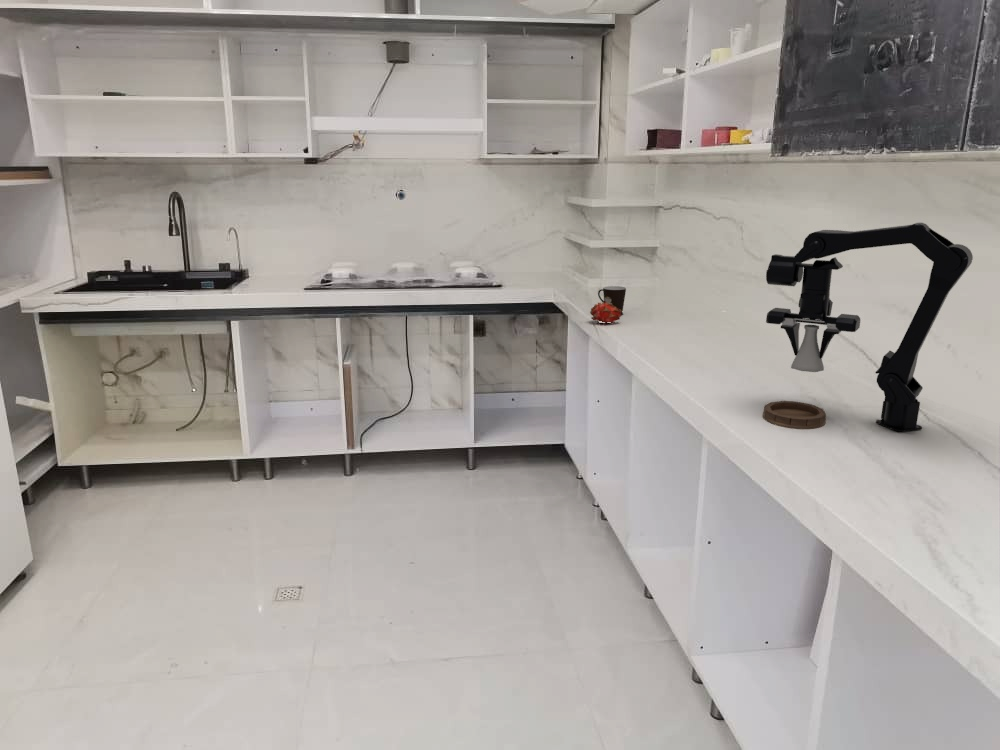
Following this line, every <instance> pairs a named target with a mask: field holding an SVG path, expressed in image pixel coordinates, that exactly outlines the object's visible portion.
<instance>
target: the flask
mask: <svg viewBox="0 0 1000 750" xmlns="http://www.w3.org/2000/svg"><path fill="white" fill-rule="evenodd" d="M803 326H804V327H803V328H804V330H805V331H804V335H803V336H804V337H803V339H802V343H801V345H799V350H798V353H797V355H796V356H795V357H794V359H793V361H792V363H791V364H790V365H791V366H790V369H793V370H796V371H801V372H807V373H818V372H823V371H824V370H825V369H824V368H825V366H824V363H823V358H822V359H820V347H819V343H818V330H820V325H818V324H810V323H807V324H804V325H803Z"/></svg>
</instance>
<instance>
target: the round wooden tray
mask: <svg viewBox="0 0 1000 750" xmlns="http://www.w3.org/2000/svg"><path fill="white" fill-rule="evenodd" d="M762 418H763V419H764V420H765V421H766V420H767V421H766V422H768V423H770V422H771V423H770V424H772V423H773V425H775V424H776V425H775V426H779V427H783V428H787V429H797V430H810V429H813V430H814V429H817V428H818V429H819V428H821V427H824V426H825V425H826V422H827V421H826V418H827V412H825V410H824V409H823V408H821V407H819V406H816V405H815V404H810V403H807V402H803V401H802V402H801V401H793V400H792V401H791V400H778V401H771V402H768V403H767V404H765V405H764V406H763V412H762Z"/></svg>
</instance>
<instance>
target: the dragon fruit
mask: <svg viewBox="0 0 1000 750" xmlns="http://www.w3.org/2000/svg"><path fill="white" fill-rule="evenodd" d="M589 313H590V315H591V318H590V319H591V320H592V319H593V320H592V321H598V320H599V321H602V322H612V323H614V322H616V321H619V320H620V318H621V317H622V316H623V315H624V313H623V312H622V311H621V310H620V309H617V308H616V307H615V306H614V305H612V303H610V304H607V302H605V303H604V302H597V303H596V304H594V306H593V307H591V309H590V311H589Z"/></svg>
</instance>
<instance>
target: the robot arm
mask: <svg viewBox="0 0 1000 750" xmlns="http://www.w3.org/2000/svg"><path fill="white" fill-rule="evenodd" d="M906 244H911V245H912V246H914V247H915V248H916V249H918V250H919V251H920V252H921V253H922V254H923V255H924V256H925V257H927V259H929V260H931V262H932V266H931V267H932V268H931V270H930V275H929V279H928V286H927V289H926V291H925V292H924V295H923V297H922V299H921V301H920V303H919V304H918V307H917V310H916V311H915V314H914V315H913V318H912V319H911V322H910V323H909V326H908V328H907V329H906V331H905V334H904V336H903V338H902V340H901V342H900V343H899V346H898V348H897V349H896V351H895V352H893V351H892V350H888V352H887V353H885V354H884V355H883V357H882V359H881V364H880V366H879V368H878V369H877V370H876V371H875V374H877V377H876V383H877V386H878V387H879V389H880V390H881V391H883V394H884V400H883V402H882V406H881V407H882V408H881V415H880V419H876V420H875V423H876V424H878V425H881V426H883V427H885V428H888V429H890V430H892V431H894V432H898V433H901V432H908V431H909V432H910V431H916V430H922V429H923V426H921V425H920V424H918V419H919V412H920V406H921V401H919V400H918V399H917V397H918V396H919V395H920V393H921V392H922V391H923V386H922V385H921V384H920V383H919V381H917V379H916V378H915V377H914V374H915V371H916V367H917V363H918V357H919V352H920V350H921V348H922V346H923V345H924V342H925V341H926V339H927V336H929V335H928V334H929V332H930V330H931V328H932V327H933V325H934V322H935V320H936V319H937V316H938V315H939V313H940V311H941V309H942V307H943V305H944V302H945V301H946V299H947V297H948V295H949V293H951V292H950V291H951V290H952V289H953V288H954V286H956V284H957V283H958V281H959V280H960V279H961V277H963V275H964V274H965V272H966V271H967V270H968V269H969V267H970V266H971V264H972V263H973V259H974V256H973V253H972V251H971V249H970V248H969V247H968V246H966V245H964V244H960V243H959V244H958V243H955V244H954V243H953V242H952V241H951V240H949V239H948V238H947V237H945V236H943V235H942V234H940V233H939V232H937V231H935V230H933V229H932V228H930V227H929V225H928V224H926V223H924V222H915V223H912V224H907V225H906V224H905V225H896V226H889V227H882V228H881V227H879V228H874V229H866V230H865V229H864V230H856V231H853V230H852V231H850V230H841V229H840V230H837V229H836V230H835V229H822V230H818V231H814V232H811V233H809V234H808V235H807V236H806V237H805V238H804V240H803V246H802V247H801V248H800V250H799V251H798V252H797V253H796V254H795V255H794V256H793V255H792V256H791V255H782V254H772V255H771V259H770V261H769V264H768V266H767V269H766V275H765V278H766V283H767V285H772V286H773V285H774V286H783V287H795V286H796V285H797V284H798V283H801V282H802V283H801V284H802V285H801V293H800V297H799V301H798V308H799V311H798V313H794V312H793V313H792V312H791V311H792V310H791V308H784V307H783V308H782V307H774V308H772V309H770V310H769V311H768V312H767V313H766V319H765V320H766V321H765V323H766V324H772V325H780V329H784V330H785V332H786V334H787V337H788V339H789V341H790V345H791V348H792V351H793V353H794V356H795V357H796V355H797V353H798V351H799V349H800V345H799V344H800V341H799V340H800V337H799V336H800V326H801V323H803V324H804V323H805V324H812V325H822V326H823V325H824V326H826V327H827V328H825V329H824V330H823V334H822V340H821V343H820V347H819V351H820V359H822V360H823V357H824V355H825V353H826V351H827V349H828V347H829V345H830V342H832V339H833V338H834V336H835V335H839V334H840V333H841V332H848V333H856V332H857V331H858V330H859V329H860V328H861V317H860V316H859V315H858V314H847V313H841V314H839V315H838V316H837V317H835V316H831V315H832V309H833V303H834V302H833V301H832V300H831V298H830V295H831V292H830V291H831V282H832V275H833V274H832V273H833V270H835V271H837V270H838V271H839V270H841V269H843V267H844V265H843V264H842V263H841V262H840V261H838V259H837V257H832V258H831V259H830V260H825V259H823V258H826V257H829V256H833V255H836V254H841V253H843V252H848V251H850V250H860V249H869V248H871V249H872V248H878V247H880V248H881V247H888V246H897V245H906ZM821 258H822V259H821ZM815 259H816V260H815ZM810 260H815V261H814V262H813V263H805V262H806V261H810Z"/></svg>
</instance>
